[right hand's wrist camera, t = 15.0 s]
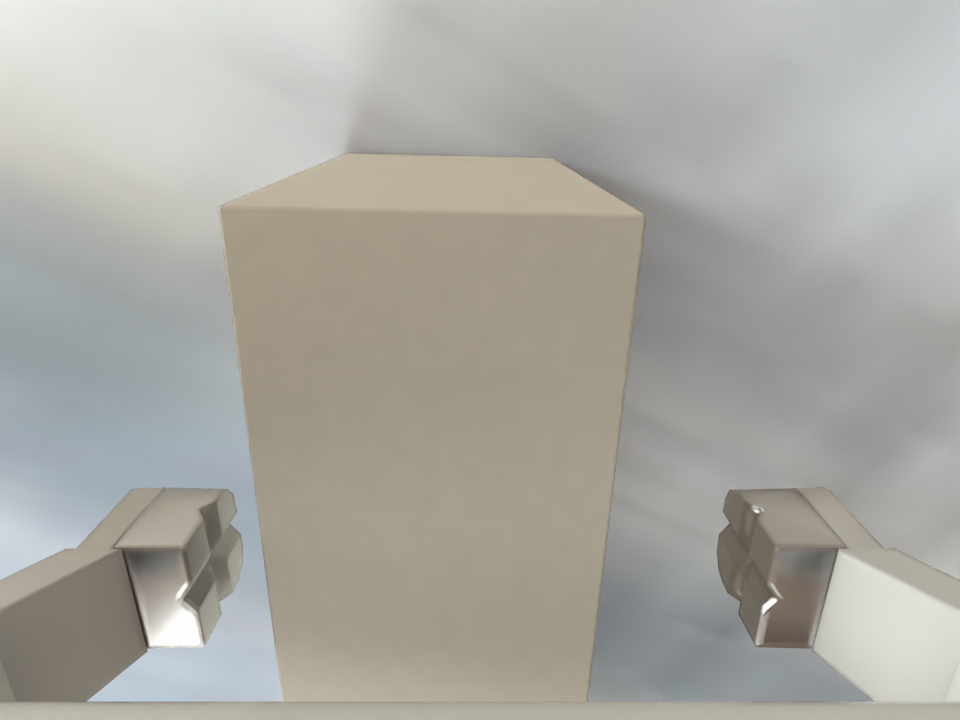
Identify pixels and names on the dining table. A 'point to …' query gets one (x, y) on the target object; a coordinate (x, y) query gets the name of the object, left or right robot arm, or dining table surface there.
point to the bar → (433, 419)
